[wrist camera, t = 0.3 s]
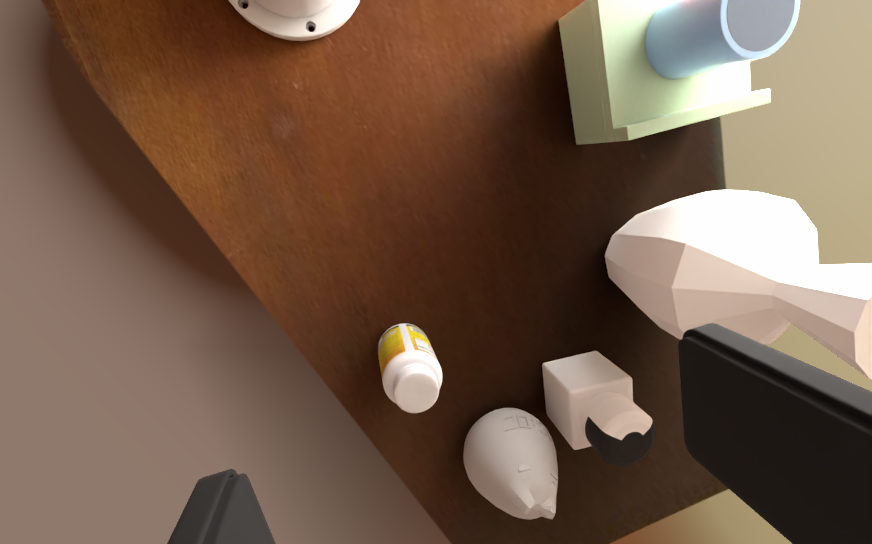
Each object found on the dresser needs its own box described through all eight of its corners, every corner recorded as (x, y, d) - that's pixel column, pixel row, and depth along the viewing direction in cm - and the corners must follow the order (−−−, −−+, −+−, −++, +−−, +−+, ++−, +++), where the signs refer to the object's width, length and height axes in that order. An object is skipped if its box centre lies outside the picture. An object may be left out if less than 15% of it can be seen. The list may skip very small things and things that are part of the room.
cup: (640, 6, 36) (717, -35, 29) (708, -9, 37) (801, -54, 29) (648, 87, 38) (722, 68, 30) (712, 71, 39) (801, 48, 31)
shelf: (557, 19, 42) (610, -18, 34) (686, -10, 44) (768, -53, 35) (576, 145, 45) (628, 140, 37) (694, 113, 47) (771, 102, 38)
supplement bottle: (377, 370, 47) (383, 424, 38) (377, 322, 46) (384, 364, 36) (427, 368, 48) (446, 419, 39) (429, 321, 47) (450, 362, 37)
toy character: (553, 408, 53) (609, 476, 41) (519, 481, 54) (564, 566, 43) (477, 387, 50) (514, 453, 39) (444, 464, 52) (470, 550, 40)
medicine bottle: (599, 401, 54) (666, 465, 42) (545, 415, 53) (599, 484, 41) (596, 349, 52) (666, 401, 40) (540, 362, 51) (595, 419, 39)
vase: (616, 329, 52) (843, 471, 28) (561, 232, 47) (773, 301, 24) (713, 260, 52) (1020, 342, 28) (667, 158, 48) (982, 151, 24)
